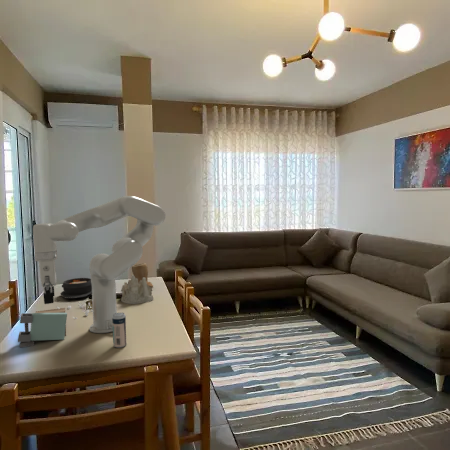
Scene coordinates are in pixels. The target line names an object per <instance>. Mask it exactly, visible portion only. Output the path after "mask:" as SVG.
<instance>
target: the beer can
mask: <svg viewBox="0 0 450 450" xmlns="http://www.w3.org/2000/svg"><path fill="white" fill-rule="evenodd" d="M126 316H127V315H126V314H125V312H117V313H115V314H114V315H113V317H112V321H113V331H112V342H113V344H112V346H113V347H114V348H117V349H118V348H121V349H122V348H124V347H126V346H127V322H126Z"/></svg>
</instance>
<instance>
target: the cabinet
mask: <svg viewBox="0 0 450 450" xmlns="http://www.w3.org/2000/svg"><path fill="white" fill-rule="evenodd" d="M59 308H60V309H57V308H53V309H46V310H45V309H44V310H38V311H35V312H34V313H66V308H65V307H59ZM24 316H28V315H24ZM29 330H30V328H29V323H24V332H25V335H29ZM66 336H67V327H66V328H65V337H66ZM35 341H36V340H33V341H30V342H19V347H20V348H25V347H26V348H27V347H33V346H35Z"/></svg>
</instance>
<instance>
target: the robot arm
mask: <svg viewBox="0 0 450 450" xmlns="http://www.w3.org/2000/svg"><path fill="white" fill-rule="evenodd" d="M126 217H131V218H134V219H136V224H135V226H134V227H133V228H132V229H131V230H130V231H129V232H127V233H126V234H125V235H123V236H122V237H120V238H119V239H118V240H116V242H115V243H114V244H113V245H112V248H111V251H112V253H111V254H107V253H97V254H95V255H94V256H93V257H92V258H91V259H90V261H89V262H90V263H89V274H90V279H91V283H92V294H91V301H92V310H93V312H92V321H93V322H92V324H91V325H89V332H91V333H94V334H107V333H113V321H112V317H113V315H114V314H115V313H118V312H117V286H116V285H117V284H116V283H117V282H116V280H117V279H118V278H120V277H121V276H123V274H125V273H126V272H127V271H128V270H130V269H132V266H133V265H136V264H137V263H138V262H139V261H140V259H141V258H142V257H143V252H144V249H143V246H145V245H146V244H147V243H148V242H149V241H150V240H151V238H152V236H153V233H154V226H160V225H161V224H163V223H164V222H165V220H166V212H165V210H164V209H163V207H161V206H159V205H158V204H154V203H152V202H150V201H147V200H146V199H145V200H144V199H143V198H140V197H138V196H134V195H124V196H120V197H117V198H115V199H113V200H110V201H108V202H105V203H102V204H100V205H97V206H95V207H92V208H89V209H86V210H84V211H81V212H79V213H76V214H73V215H71V216H68V217H65V218H63V219H61V220H58V221H56V222H55V223H49V222H48V223H47V222H46V223H45V222H43V223H36V224H34V225H33V227H32V235H33V246H34V247H33V249H34V258H35V259H34V261H35V262H38V264H39V277H40V283H41V287H42V288H43V304H44V305H49V304H54V302H55V300H54V297H55V287H56V286H57V271H56V260H57V259H58V250H57V249H58V248H57V246H58V245H57V242H71V241H73V240H75V239H77V237H78V235H79V233H80V232H83V231H86V230H87V231H88V230H89V229H96V228H102V227H105V226H108V225H110V224H112V223H115V222H117V221H119V220H121V219H124V218H126Z"/></svg>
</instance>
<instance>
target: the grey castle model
mask: <svg viewBox="0 0 450 450" xmlns="http://www.w3.org/2000/svg"><path fill="white" fill-rule="evenodd" d="M152 290H153V288H150V287H149V286H148V285H147V282H146V278H142V280H140V282H139V284H138V279H136V278H135V277H134V275H133V274H132V275H131V278H130V279H128V281H127V282H126V281H124V284H122V287H121V290H120V292H121V293H122V294H121V295H122V296H121V298H120V299H121V300H120V301H121V303H124V304H128V305H137V304H142V303H147V302H152V301H154V300H155V299H154V297H153V296H154V295H153V292H152Z"/></svg>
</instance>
